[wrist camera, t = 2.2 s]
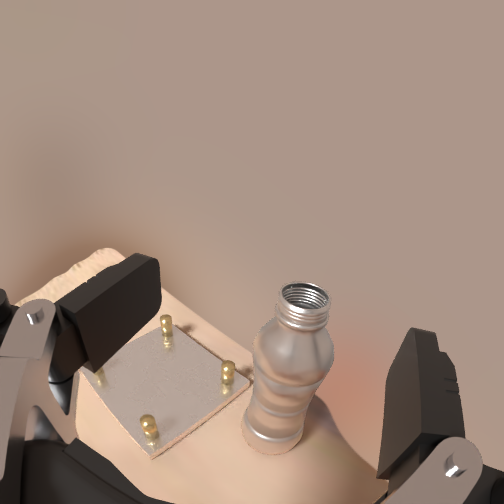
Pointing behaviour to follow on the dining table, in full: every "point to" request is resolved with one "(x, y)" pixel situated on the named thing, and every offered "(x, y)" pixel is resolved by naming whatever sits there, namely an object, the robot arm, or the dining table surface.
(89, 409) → the dining table surface
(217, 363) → the plate
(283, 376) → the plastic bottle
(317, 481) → the dining table surface
